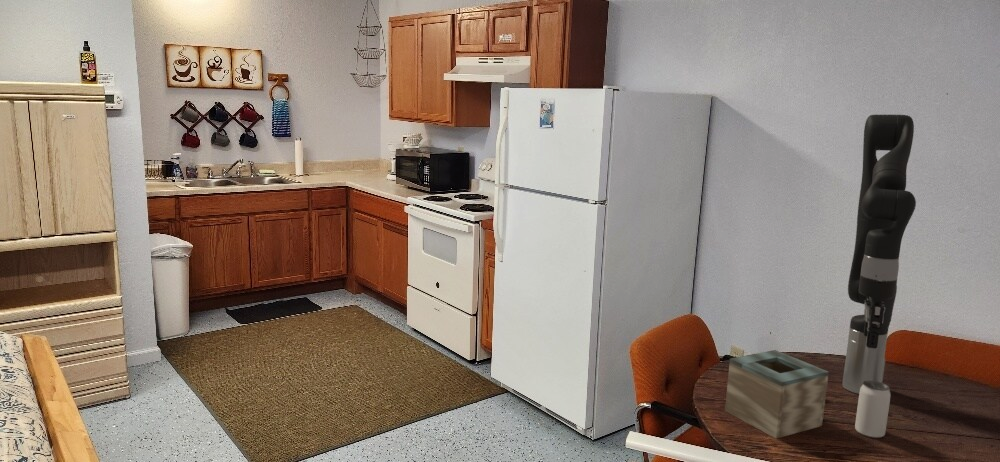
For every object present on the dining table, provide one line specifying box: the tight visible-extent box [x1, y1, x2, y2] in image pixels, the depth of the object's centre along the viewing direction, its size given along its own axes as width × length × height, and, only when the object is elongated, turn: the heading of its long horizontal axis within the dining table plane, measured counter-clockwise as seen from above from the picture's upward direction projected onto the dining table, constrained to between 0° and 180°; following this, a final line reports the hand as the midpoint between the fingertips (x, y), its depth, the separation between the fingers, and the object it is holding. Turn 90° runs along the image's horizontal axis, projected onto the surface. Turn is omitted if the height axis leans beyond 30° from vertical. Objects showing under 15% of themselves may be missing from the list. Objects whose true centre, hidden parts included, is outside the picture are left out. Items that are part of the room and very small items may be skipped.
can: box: [854, 381, 891, 439], centre depth 164 cm, size 6×6×12 cm
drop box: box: [724, 349, 830, 440], centre depth 169 cm, size 16×16×14 cm
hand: (870, 341), depth 161 cm, fingers open, 8 cm apart
